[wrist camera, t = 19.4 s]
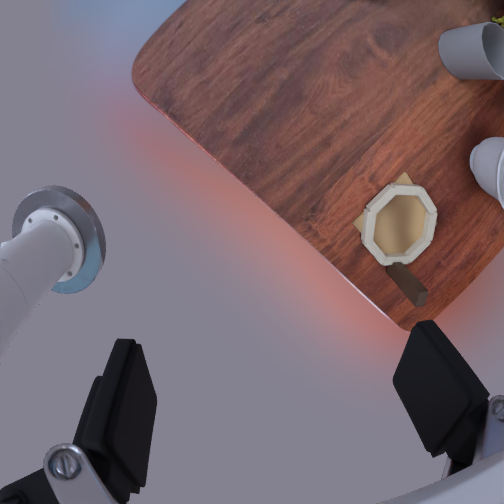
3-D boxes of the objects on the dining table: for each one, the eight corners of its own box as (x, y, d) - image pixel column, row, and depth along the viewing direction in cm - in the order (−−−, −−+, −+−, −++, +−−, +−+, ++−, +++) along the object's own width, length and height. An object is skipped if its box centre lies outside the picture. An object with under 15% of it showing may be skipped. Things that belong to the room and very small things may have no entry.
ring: (366, 181, 40) (401, 203, 31) (436, 185, 40) (477, 206, 31) (355, 273, 46) (381, 311, 37) (420, 269, 46) (452, 301, 37)
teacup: (475, 220, 43) (511, 243, 34) (445, 150, 38) (488, 164, 29) (511, 181, 40) (548, 198, 31) (486, 112, 35) (528, 120, 26)
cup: (430, 49, 31) (473, 42, 22) (450, 21, 29) (491, 11, 20) (463, 89, 34) (507, 92, 25) (482, 60, 31) (523, 58, 22)
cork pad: (389, 267, 46) (390, 269, 46) (351, 222, 42) (352, 223, 42) (436, 222, 43) (438, 223, 43) (404, 171, 39) (405, 172, 39)
